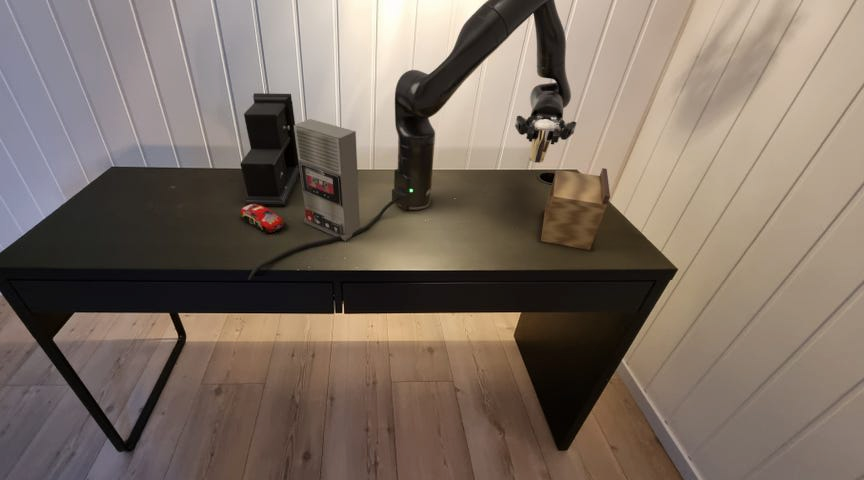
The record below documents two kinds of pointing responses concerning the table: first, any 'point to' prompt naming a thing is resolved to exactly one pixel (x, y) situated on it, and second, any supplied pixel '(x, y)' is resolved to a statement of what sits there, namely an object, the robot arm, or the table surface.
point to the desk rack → (575, 208)
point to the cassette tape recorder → (329, 177)
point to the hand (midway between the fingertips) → (542, 138)
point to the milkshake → (541, 139)
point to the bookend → (270, 150)
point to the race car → (262, 218)
